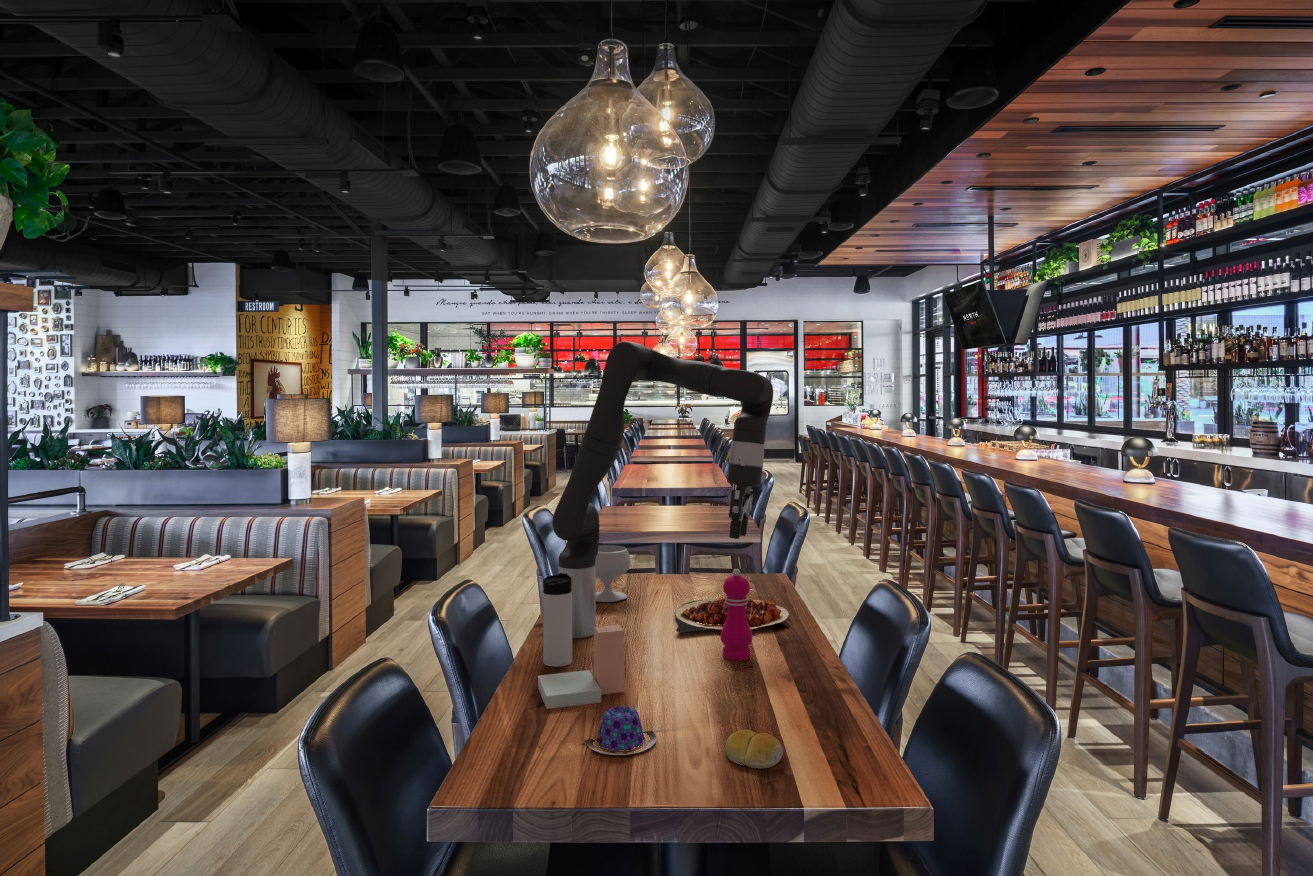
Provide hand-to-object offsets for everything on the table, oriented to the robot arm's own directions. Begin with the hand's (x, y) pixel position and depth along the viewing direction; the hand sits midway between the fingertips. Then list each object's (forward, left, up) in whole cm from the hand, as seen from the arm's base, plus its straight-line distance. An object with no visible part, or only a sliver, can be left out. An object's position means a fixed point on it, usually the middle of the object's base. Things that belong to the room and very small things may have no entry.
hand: (737, 536), depth 159 cm
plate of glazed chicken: (-12, +31, -29) cm, 44 cm away
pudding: (-6, -45, -29) cm, 53 cm away
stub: (-17, -29, -27) cm, 42 cm away
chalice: (-54, +38, -28) cm, 72 cm away
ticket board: (-17, -29, -28) cm, 43 cm away
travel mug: (-35, -19, -28) cm, 49 cm away
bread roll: (+16, -41, -29) cm, 52 cm away
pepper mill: (-2, +4, -28) cm, 29 cm away
